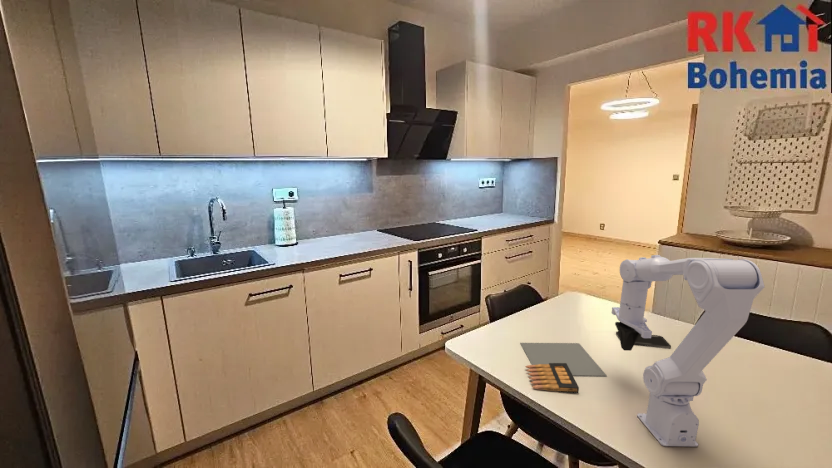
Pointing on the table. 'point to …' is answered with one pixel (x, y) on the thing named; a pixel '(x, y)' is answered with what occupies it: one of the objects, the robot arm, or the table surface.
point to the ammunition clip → (553, 377)
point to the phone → (651, 341)
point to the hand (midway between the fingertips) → (626, 349)
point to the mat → (563, 357)
